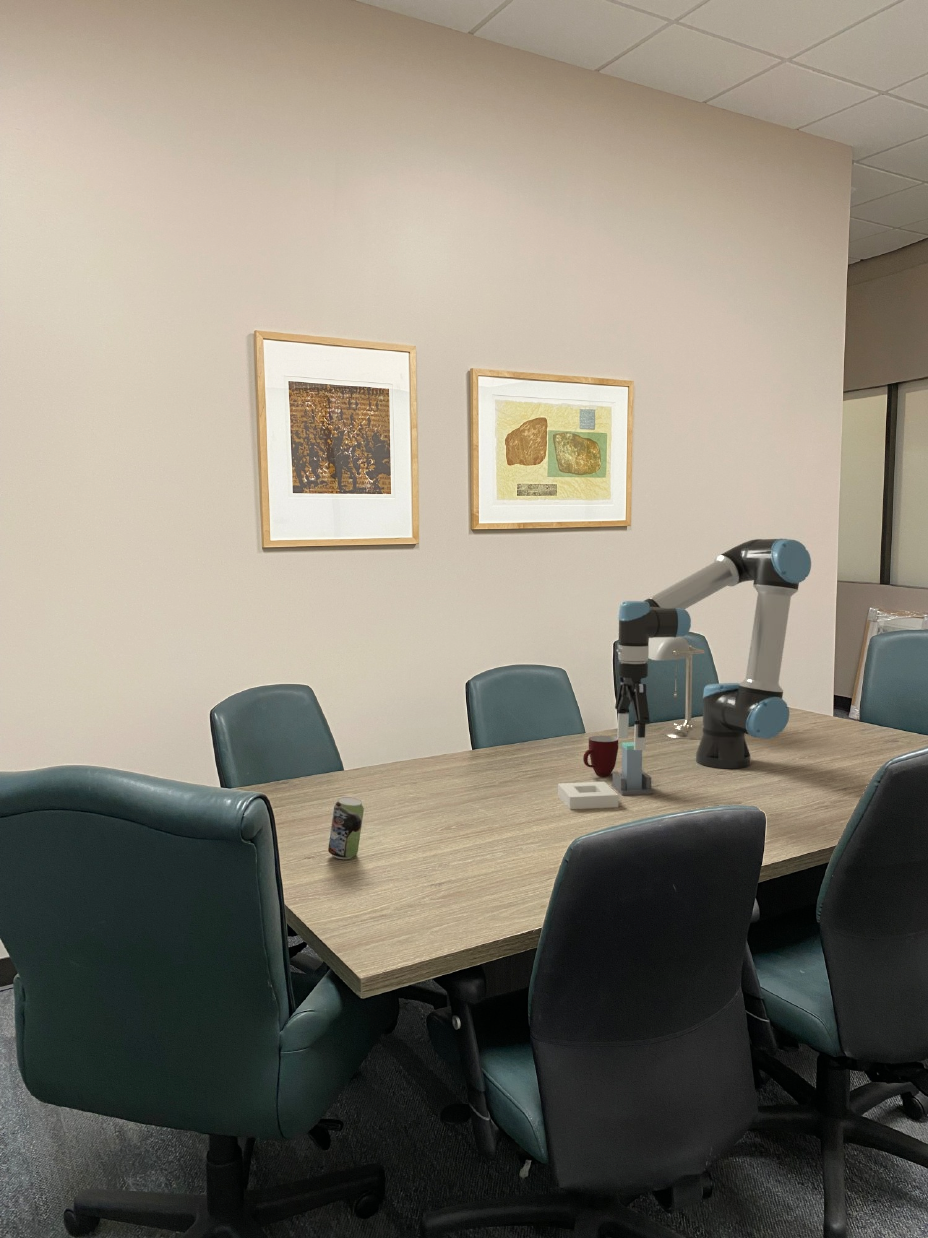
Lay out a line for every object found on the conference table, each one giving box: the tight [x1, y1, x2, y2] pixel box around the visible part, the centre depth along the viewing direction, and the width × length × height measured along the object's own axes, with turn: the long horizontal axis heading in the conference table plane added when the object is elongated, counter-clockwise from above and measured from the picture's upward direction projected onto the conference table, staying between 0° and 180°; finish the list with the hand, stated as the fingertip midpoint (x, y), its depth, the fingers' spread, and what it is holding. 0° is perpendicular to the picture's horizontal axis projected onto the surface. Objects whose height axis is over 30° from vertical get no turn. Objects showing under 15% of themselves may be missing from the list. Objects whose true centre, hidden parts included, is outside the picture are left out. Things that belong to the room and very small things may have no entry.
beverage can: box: [327, 796, 365, 860], centre depth 178 cm, size 6×7×12 cm
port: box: [557, 781, 619, 810], centre depth 216 cm, size 12×12×3 cm
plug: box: [621, 741, 643, 790], centre depth 225 cm, size 4×4×12 cm
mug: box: [583, 735, 619, 777], centre depth 240 cm, size 10×8×10 cm
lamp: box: [648, 636, 706, 740], centre depth 290 cm, size 26×24×34 cm
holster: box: [610, 769, 654, 796], centre depth 226 cm, size 8×9×4 cm
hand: (630, 744), depth 225 cm, fingers open, 13 cm apart
